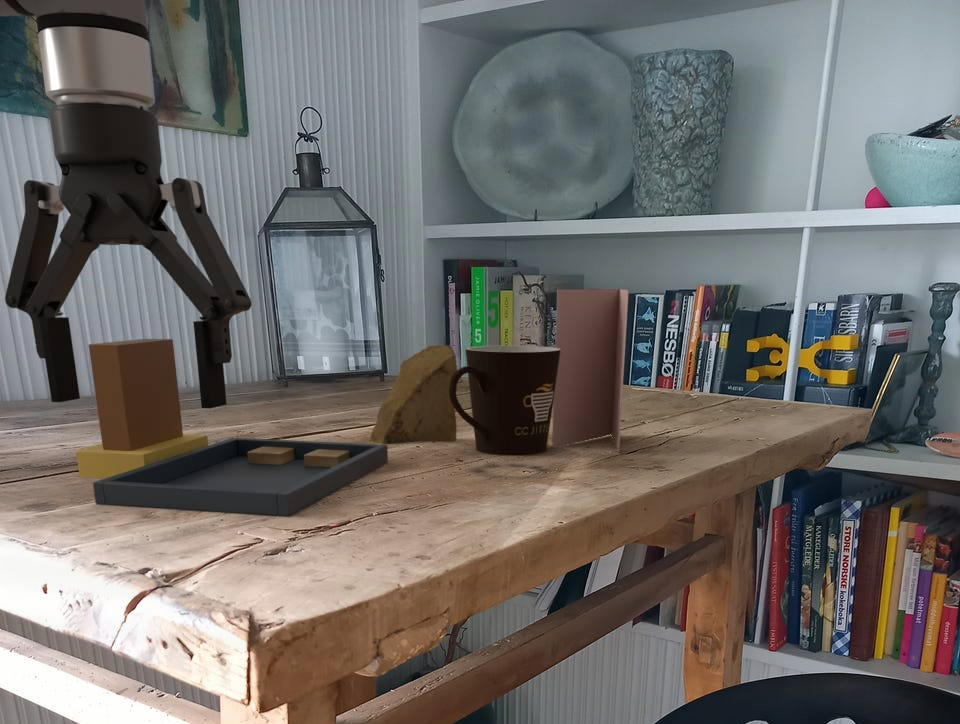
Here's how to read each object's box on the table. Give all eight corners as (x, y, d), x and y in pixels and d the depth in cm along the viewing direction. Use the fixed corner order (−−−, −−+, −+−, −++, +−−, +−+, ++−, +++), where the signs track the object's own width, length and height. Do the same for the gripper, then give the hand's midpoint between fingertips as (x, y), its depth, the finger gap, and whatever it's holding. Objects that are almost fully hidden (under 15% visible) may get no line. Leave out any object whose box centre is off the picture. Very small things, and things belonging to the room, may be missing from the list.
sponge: (148, 492, 73) (130, 346, 69) (81, 488, 75) (59, 344, 71) (211, 469, 82) (198, 338, 78) (150, 466, 84) (134, 337, 80)
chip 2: (304, 466, 79) (303, 454, 78) (317, 460, 81) (317, 449, 81) (337, 468, 78) (336, 456, 78) (350, 462, 81) (349, 450, 80)
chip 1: (247, 463, 80) (246, 451, 79) (263, 457, 82) (262, 446, 82) (280, 465, 79) (279, 453, 79) (294, 459, 82) (294, 447, 81)
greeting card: (604, 434, 103) (612, 289, 97) (664, 441, 98) (676, 289, 93) (544, 447, 94) (549, 289, 89) (607, 456, 90) (617, 290, 85)
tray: (97, 517, 65) (92, 482, 65) (234, 465, 84) (232, 437, 83) (290, 531, 62) (287, 494, 61) (388, 473, 81) (387, 444, 80)
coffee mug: (534, 449, 93) (536, 344, 89) (572, 464, 86) (577, 351, 82) (423, 456, 89) (421, 347, 86) (453, 472, 82) (452, 353, 78)
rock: (375, 433, 87) (476, 415, 89) (352, 354, 89) (452, 337, 91) (369, 484, 97) (460, 466, 99) (348, 411, 99) (438, 396, 101)
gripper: (281, 111, 69) (299, 403, 77) (-7, 120, 75) (36, 393, 82) (234, 92, 63) (258, 415, 70) (-80, 104, 68) (-25, 403, 75)
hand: (138, 403), depth 76 cm, fingers open, 13 cm apart
